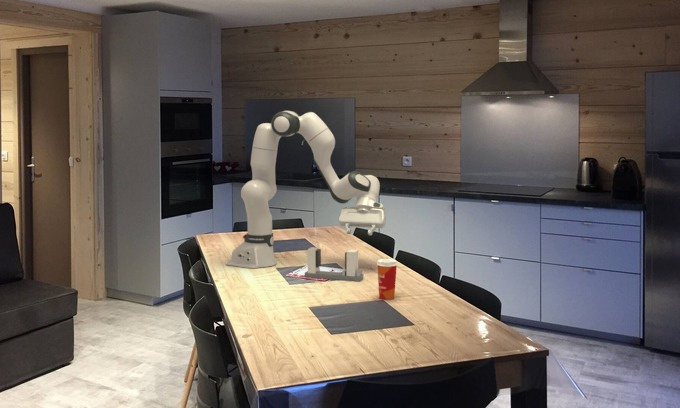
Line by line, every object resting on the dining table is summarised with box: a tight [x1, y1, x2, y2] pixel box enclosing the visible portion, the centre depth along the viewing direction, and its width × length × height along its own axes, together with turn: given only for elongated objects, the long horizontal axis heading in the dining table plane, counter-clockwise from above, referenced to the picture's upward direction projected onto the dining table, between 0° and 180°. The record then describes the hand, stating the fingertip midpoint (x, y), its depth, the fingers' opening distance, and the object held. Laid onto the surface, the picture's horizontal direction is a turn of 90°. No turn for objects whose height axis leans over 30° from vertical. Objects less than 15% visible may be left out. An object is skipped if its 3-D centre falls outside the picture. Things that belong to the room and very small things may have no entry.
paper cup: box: [376, 258, 398, 301], centre depth 247 cm, size 8×8×14 cm
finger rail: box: [304, 246, 364, 282], centre depth 278 cm, size 24×5×12 cm, turn 73°
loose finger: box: [344, 248, 359, 276], centre depth 275 cm, size 4×5×10 cm
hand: (358, 233), depth 284 cm, fingers open, 8 cm apart
